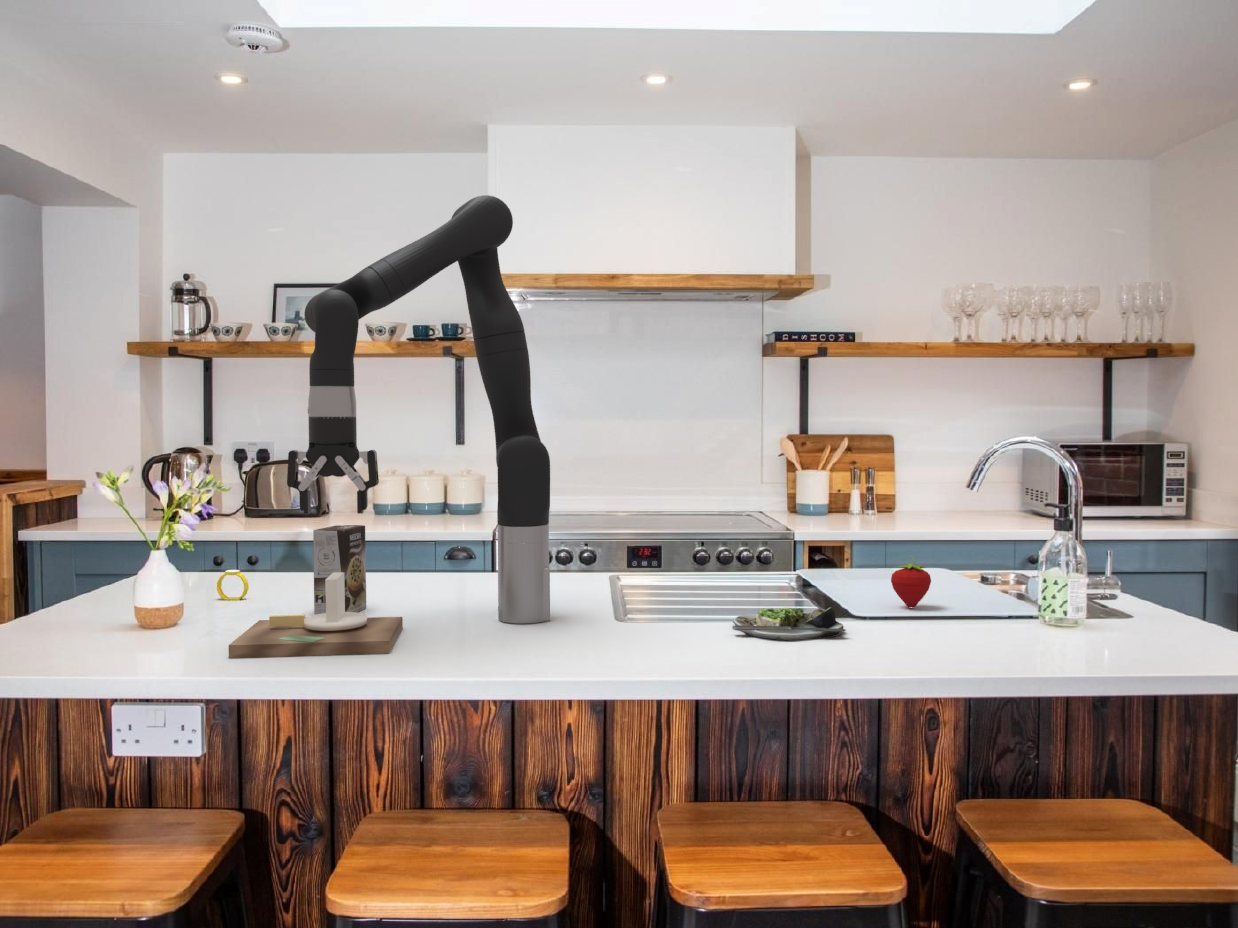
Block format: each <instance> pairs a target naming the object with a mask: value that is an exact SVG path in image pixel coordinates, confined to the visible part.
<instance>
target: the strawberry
mask: <svg viewBox="0 0 1238 928" xmlns="http://www.w3.org/2000/svg"><path fill="white" fill-rule="evenodd" d="M910 557H911V558H912V560H913V564H912V563H908V564H906V565H896V566H897V567H898V568H901V569H897V570H895V571H894V572H893V573H891V578H890V582H891V586H892V589H893V591H894V592H895V593H896V594H897V596H898V597H899V598H900V600H902V602H904V604H905V606H906V607H907V608H909V607H914V608H916V607H917V605H918V604H919V603H920V601H921V600H922V599H923V598H924V597H925V596H926V594H927V593H928V591H929V589H930V587H931V583H932V578H931V575H930V573H928V571H926V570H925V569H923V568H927V566H924V565H915V564H916V561H915V559H914V557H913V556H912V554H911V555H910Z"/></svg>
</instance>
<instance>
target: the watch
mask: <svg viewBox="0 0 1238 928" xmlns="http://www.w3.org/2000/svg"><path fill="white" fill-rule="evenodd" d="M226 576H237V577H239V578H240V580H241V581H242V583H243V591H242V594H241V595H240V596H238V597H237V596H236V597H229V596H227V595H226V594H225V593H224V591H223V589H222V582H223V580H224V578H225V577H226ZM248 591H249V581H248V579H247V577H246V575H244V574H243V573H242V572H241V570H240V569H228V570H225V571H224V573H223V574H221V575H220V576H219V578H218V580H217V582H216V592H217V593H218V595H219V597H220V598H222V600H224V601H240V600H242V599H243V598H245V597H246V595H247V594H248Z"/></svg>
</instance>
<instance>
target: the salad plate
mask: <svg viewBox="0 0 1238 928" xmlns="http://www.w3.org/2000/svg"><path fill="white" fill-rule="evenodd" d="M836 619H837V618H836V612H835V610H834V607H832V606H830V607H828V608H827V609H825V610H823V609H820V608H818V609H815V610H813V611H812V612H811V611H805V610H803V609H802V608H798V607H795V608H791V607H783V608H778V609H774V608H767V609H766V608H761V609H760V610H759V611H758V613H755V614H754V613H753V614H742V615H738V616H736V617H735V618H734V619H733V621H732V623H733V624H734V625H733V626H732V630H734V631H737V632H743V633H745V634H747V635H748V636H751V637H755V638H757V637H758V638H763V639H767V640H780V641H798V640H814V639H824V638H826V639H827V638H832V637H836V636H839V635H840V634H841V633H842V632H845V631H846V629H845V628H844V625H843V623H840V622H839V621H837V620H836Z"/></svg>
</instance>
